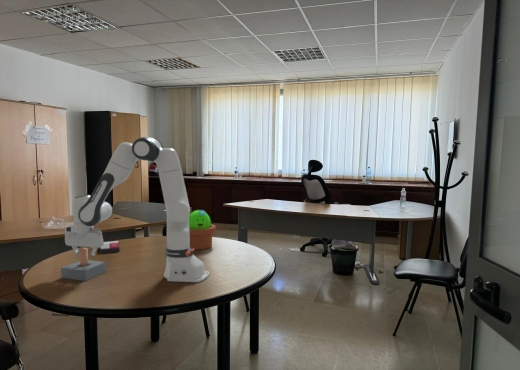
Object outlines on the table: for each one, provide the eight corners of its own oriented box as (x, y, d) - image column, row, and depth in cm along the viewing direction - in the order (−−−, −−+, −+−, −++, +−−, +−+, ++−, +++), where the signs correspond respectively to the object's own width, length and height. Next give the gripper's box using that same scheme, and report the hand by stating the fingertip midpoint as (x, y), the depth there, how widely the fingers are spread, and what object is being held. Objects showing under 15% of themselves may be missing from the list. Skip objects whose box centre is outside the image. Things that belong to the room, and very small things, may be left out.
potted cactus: (180, 243, 234) (180, 207, 232) (212, 241, 240) (212, 206, 238) (183, 251, 213) (183, 212, 211) (218, 249, 219) (218, 211, 217)
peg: (89, 271, 171) (89, 248, 170) (84, 274, 168) (84, 250, 167) (84, 271, 172) (83, 247, 171) (78, 273, 169) (78, 249, 168)
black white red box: (99, 248, 206) (100, 241, 220) (100, 255, 207) (101, 247, 220) (119, 246, 210) (119, 240, 224) (119, 253, 211) (119, 246, 225)
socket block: (105, 271, 175) (105, 262, 174) (85, 280, 161) (85, 270, 161) (83, 268, 178) (83, 259, 178) (61, 277, 165) (61, 267, 165)
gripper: (105, 227, 169) (107, 254, 170) (71, 225, 174) (73, 251, 175) (96, 230, 162) (98, 258, 164) (61, 228, 168) (63, 255, 169)
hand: (85, 255), depth 169 cm, fingers open, 8 cm apart
